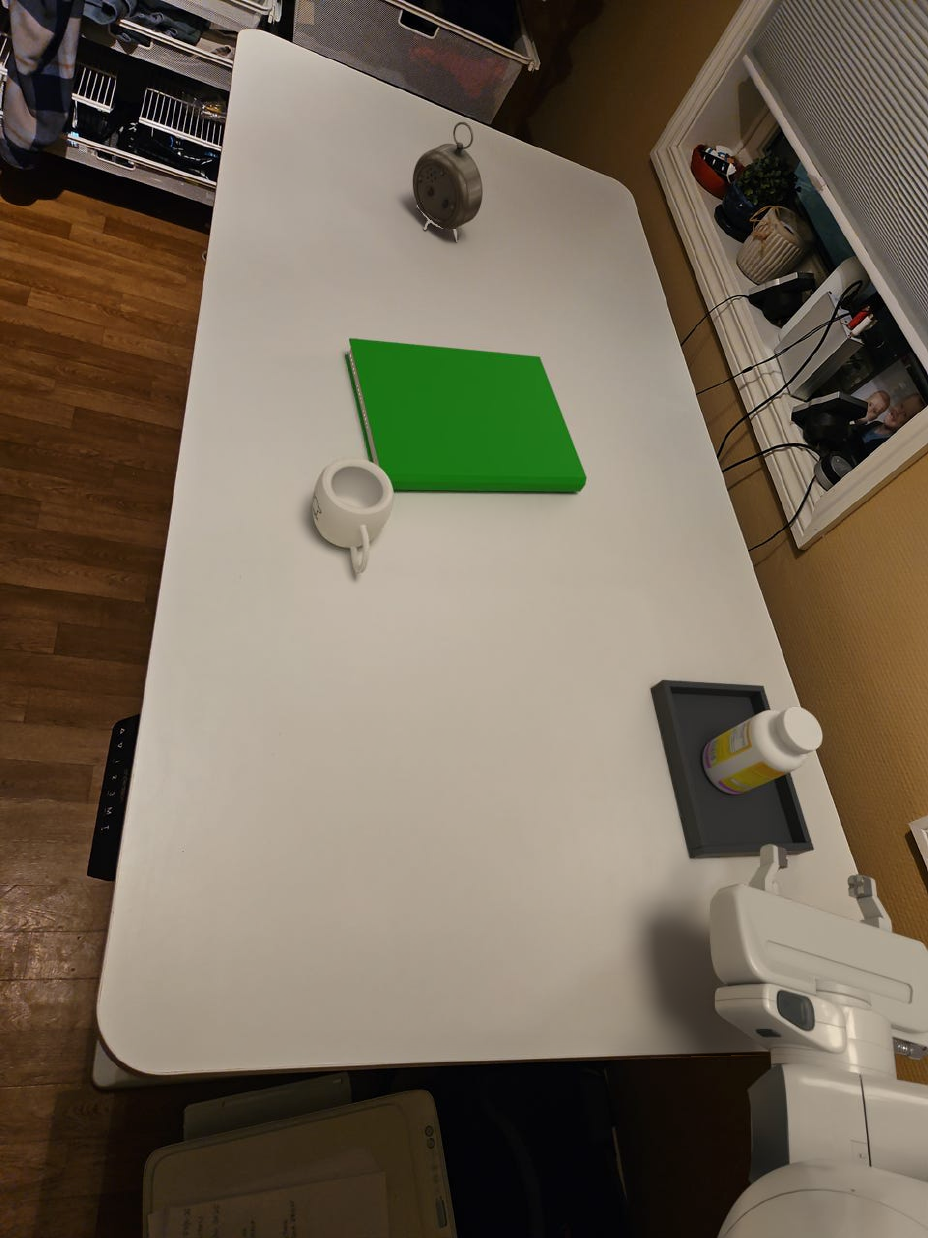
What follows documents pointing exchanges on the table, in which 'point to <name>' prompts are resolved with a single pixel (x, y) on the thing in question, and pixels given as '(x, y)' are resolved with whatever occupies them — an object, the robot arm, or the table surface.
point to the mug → (352, 505)
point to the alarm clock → (448, 184)
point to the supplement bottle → (761, 749)
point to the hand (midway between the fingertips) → (817, 862)
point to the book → (461, 419)
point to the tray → (704, 809)
